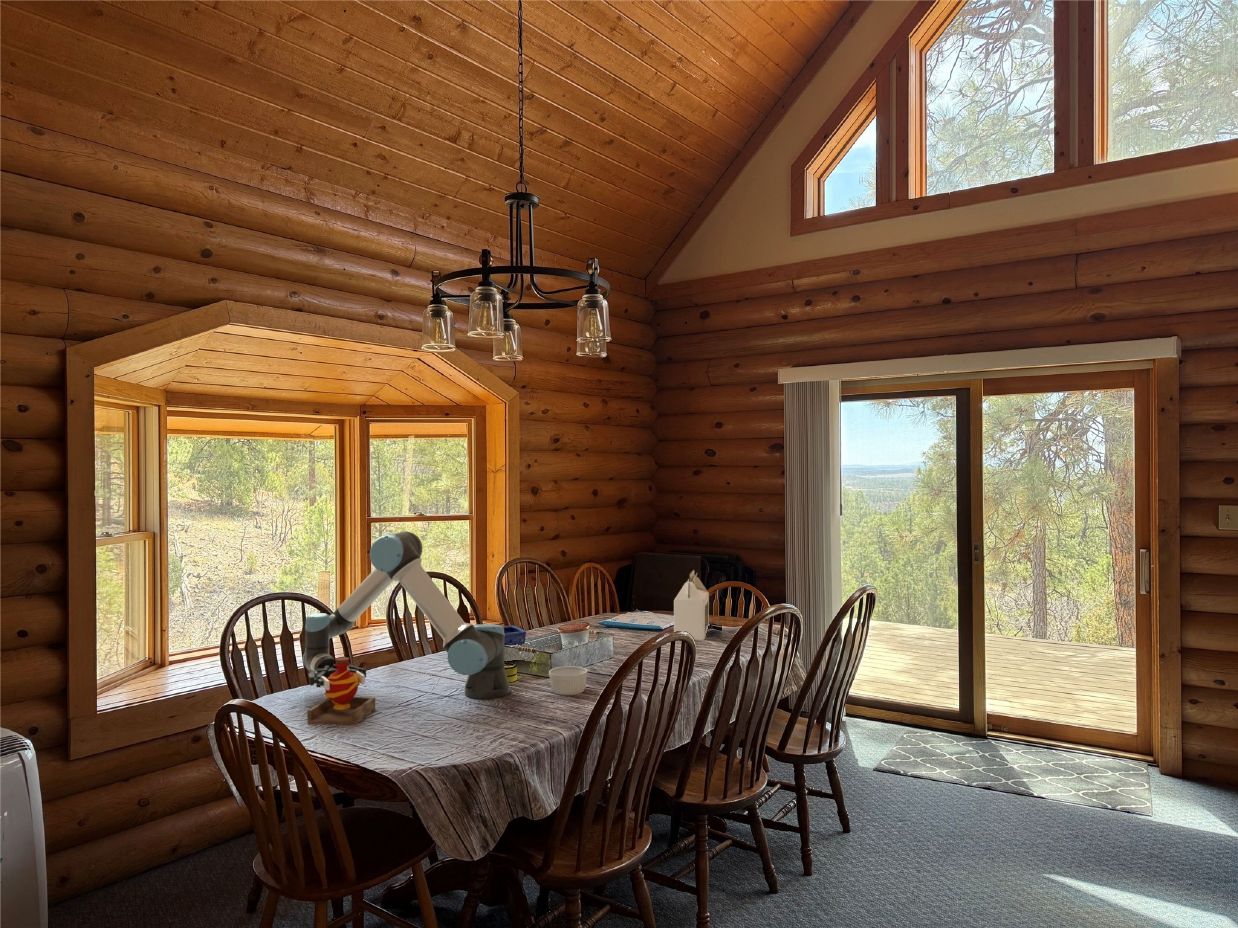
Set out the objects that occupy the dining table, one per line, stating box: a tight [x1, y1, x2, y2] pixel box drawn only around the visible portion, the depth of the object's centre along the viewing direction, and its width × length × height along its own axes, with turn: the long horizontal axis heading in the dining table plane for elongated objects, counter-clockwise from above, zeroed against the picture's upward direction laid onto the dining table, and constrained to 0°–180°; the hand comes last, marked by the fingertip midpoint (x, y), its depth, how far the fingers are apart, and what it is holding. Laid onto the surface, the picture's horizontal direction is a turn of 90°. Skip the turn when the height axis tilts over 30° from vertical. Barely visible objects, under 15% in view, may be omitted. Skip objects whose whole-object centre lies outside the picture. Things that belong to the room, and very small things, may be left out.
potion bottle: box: [324, 656, 361, 710], centre depth 254 cm, size 10×10×15 cm
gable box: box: [673, 569, 710, 641], centre depth 370 cm, size 22×13×28 cm, turn 168°
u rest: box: [306, 696, 376, 726], centre depth 254 cm, size 15×15×4 cm
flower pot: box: [502, 625, 527, 647], centre depth 325 cm, size 13×13×12 cm
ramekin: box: [548, 665, 588, 696], centre depth 282 cm, size 13×13×7 cm
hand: (346, 682), depth 251 cm, fingers closed on potion bottle, 10 cm apart
